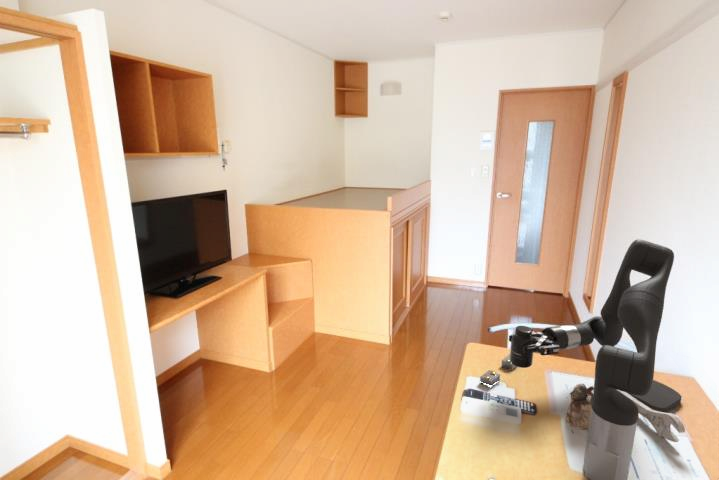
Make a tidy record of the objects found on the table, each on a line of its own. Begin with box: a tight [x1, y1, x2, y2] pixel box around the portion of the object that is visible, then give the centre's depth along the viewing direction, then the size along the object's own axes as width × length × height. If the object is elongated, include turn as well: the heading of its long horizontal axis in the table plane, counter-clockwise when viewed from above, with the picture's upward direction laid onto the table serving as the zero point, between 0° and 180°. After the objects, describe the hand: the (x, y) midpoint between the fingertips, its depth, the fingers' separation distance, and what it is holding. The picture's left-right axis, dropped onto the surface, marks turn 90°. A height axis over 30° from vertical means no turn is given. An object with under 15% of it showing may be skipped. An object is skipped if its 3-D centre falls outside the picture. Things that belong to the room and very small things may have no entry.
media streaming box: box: [626, 379, 682, 413], centre depth 126 cm, size 15×15×3 cm
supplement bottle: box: [509, 325, 535, 369], centre depth 126 cm, size 7×7×12 cm
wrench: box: [618, 390, 686, 443], centre depth 117 cm, size 8×2×30 cm
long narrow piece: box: [479, 353, 518, 385], centre depth 140 cm, size 21×4×3 cm, turn 134°
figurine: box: [564, 383, 594, 430], centre depth 114 cm, size 7×7×12 cm
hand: (516, 344), depth 126 cm, fingers closed on supplement bottle, 6 cm apart
